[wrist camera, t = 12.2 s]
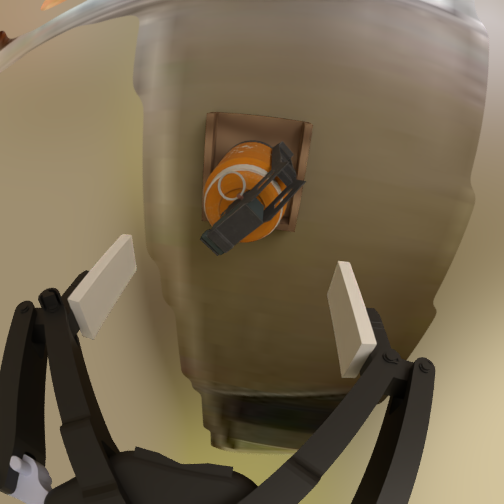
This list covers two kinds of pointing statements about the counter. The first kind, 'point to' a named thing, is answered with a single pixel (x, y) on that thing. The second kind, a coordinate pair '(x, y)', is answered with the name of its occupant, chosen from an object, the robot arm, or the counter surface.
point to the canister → (248, 194)
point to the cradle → (265, 130)
